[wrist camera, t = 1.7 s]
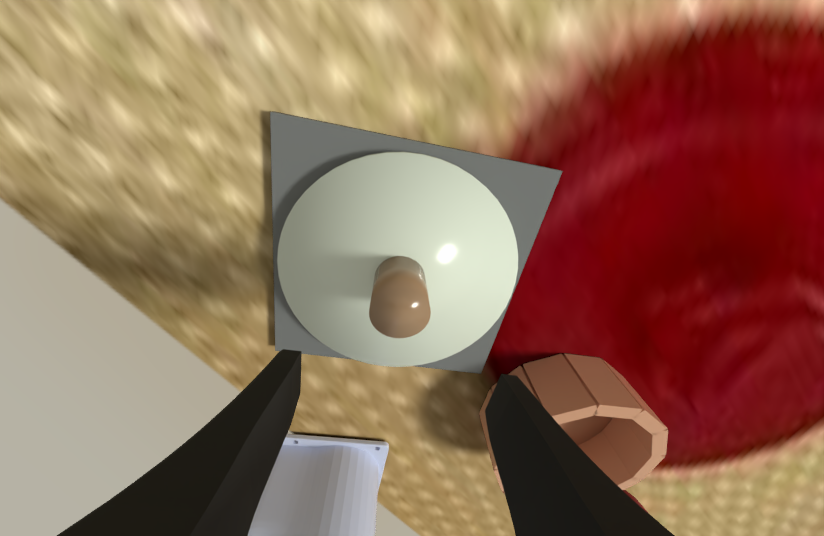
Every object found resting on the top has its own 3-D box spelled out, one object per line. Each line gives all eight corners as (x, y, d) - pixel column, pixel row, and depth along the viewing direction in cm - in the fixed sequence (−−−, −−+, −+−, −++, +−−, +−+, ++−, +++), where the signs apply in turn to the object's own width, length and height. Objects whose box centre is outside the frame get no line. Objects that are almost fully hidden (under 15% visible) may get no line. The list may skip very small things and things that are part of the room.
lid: (283, 346, 21) (256, 398, 17) (281, 125, 14) (238, 128, 11) (476, 368, 22) (492, 420, 18) (549, 178, 16) (596, 198, 12)
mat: (278, 345, 21) (275, 350, 21) (274, 111, 15) (270, 111, 14) (479, 368, 23) (480, 373, 22) (557, 169, 16) (562, 171, 16)
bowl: (465, 445, 27) (476, 502, 23) (508, 346, 22) (532, 397, 18) (584, 455, 29) (614, 510, 25) (651, 364, 23) (703, 415, 19)
